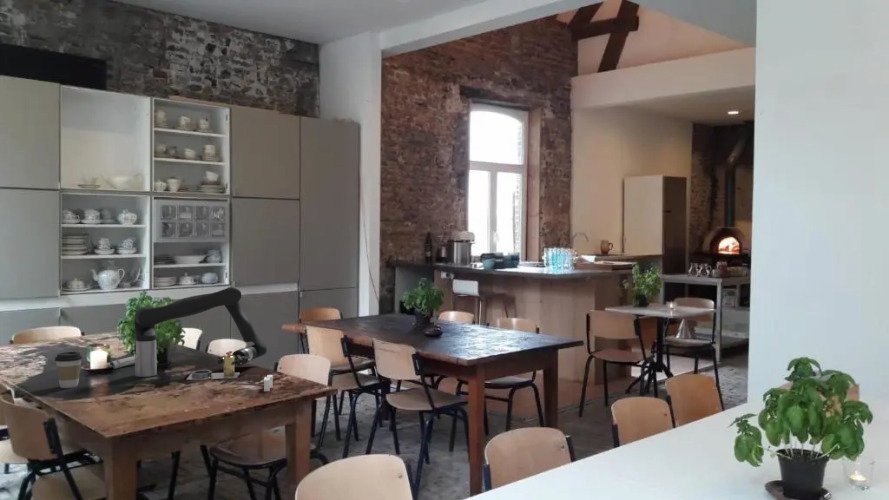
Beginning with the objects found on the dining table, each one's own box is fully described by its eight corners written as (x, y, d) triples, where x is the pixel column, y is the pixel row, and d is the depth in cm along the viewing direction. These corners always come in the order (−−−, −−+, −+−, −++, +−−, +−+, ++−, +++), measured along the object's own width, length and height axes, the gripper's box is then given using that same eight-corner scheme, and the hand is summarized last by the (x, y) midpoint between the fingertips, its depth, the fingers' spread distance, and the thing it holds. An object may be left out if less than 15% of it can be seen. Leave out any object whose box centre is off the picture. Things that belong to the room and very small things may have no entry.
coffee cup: (88, 384, 333) (88, 352, 333) (68, 390, 323) (68, 356, 322) (69, 382, 337) (69, 350, 336) (48, 387, 326) (48, 354, 326)
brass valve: (223, 376, 345) (223, 353, 345) (224, 374, 350) (224, 351, 350) (233, 376, 346) (233, 352, 346) (235, 374, 351) (235, 350, 351)
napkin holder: (268, 393, 320) (268, 380, 320) (248, 391, 325) (248, 378, 325) (290, 387, 333) (290, 374, 333) (270, 384, 338) (270, 372, 338)
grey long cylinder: (108, 361, 370) (151, 347, 391) (109, 373, 371) (153, 359, 392) (113, 362, 367) (157, 348, 388) (115, 375, 368) (158, 360, 389)
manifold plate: (186, 382, 339) (186, 375, 339) (191, 376, 352) (191, 369, 351) (237, 381, 343) (237, 373, 343) (240, 375, 356) (240, 368, 355)
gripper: (228, 348, 363) (213, 354, 347) (255, 349, 361) (241, 355, 345) (229, 363, 364) (213, 369, 348) (255, 364, 361) (241, 370, 345)
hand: (227, 362), depth 346 cm, fingers open, 8 cm apart
